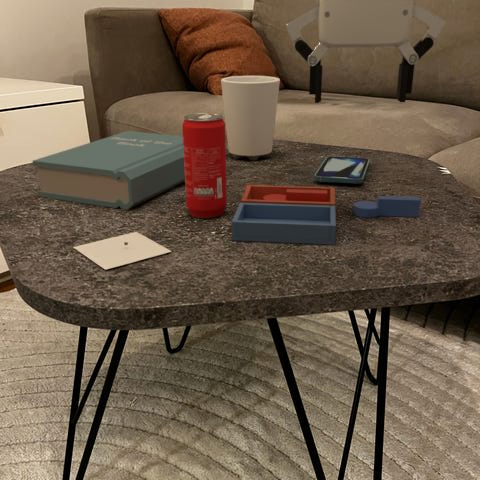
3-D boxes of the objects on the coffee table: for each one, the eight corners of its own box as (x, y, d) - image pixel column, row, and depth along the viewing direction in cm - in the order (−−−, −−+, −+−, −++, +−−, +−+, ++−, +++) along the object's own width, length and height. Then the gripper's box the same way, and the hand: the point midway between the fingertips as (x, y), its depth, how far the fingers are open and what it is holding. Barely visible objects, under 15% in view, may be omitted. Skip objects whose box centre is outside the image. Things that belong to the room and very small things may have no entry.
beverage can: (180, 216, 75) (174, 118, 70) (197, 205, 80) (193, 112, 74) (217, 221, 74) (214, 121, 68) (232, 209, 78) (231, 114, 72)
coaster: (72, 247, 66) (71, 240, 66) (136, 231, 70) (135, 225, 70) (105, 269, 60) (104, 262, 60) (171, 251, 65) (171, 244, 64)
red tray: (333, 204, 80) (334, 187, 79) (333, 221, 73) (335, 203, 72) (247, 201, 81) (247, 184, 80) (240, 218, 75) (240, 200, 74)
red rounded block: (326, 204, 78) (327, 188, 77) (326, 212, 75) (327, 195, 74) (264, 202, 79) (264, 186, 78) (261, 210, 76) (262, 193, 75)
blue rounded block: (416, 211, 77) (418, 194, 76) (419, 219, 74) (422, 202, 73) (352, 209, 78) (353, 192, 77) (353, 217, 75) (354, 200, 74)
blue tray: (334, 223, 73) (335, 205, 72) (334, 245, 66) (336, 225, 65) (239, 220, 74) (239, 202, 73) (231, 240, 68) (231, 221, 67)
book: (129, 161, 102) (127, 131, 99) (212, 170, 96) (211, 138, 93) (38, 196, 84) (32, 160, 81) (133, 210, 78) (129, 172, 75)
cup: (267, 164, 99) (269, 83, 93) (213, 160, 102) (211, 81, 96) (285, 152, 107) (287, 76, 101) (234, 148, 110) (233, 74, 104)
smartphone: (370, 158, 99) (363, 179, 86) (370, 164, 99) (362, 186, 86) (326, 155, 101) (312, 176, 88) (326, 161, 101) (312, 182, 88)
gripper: (449, -72, 64) (429, 95, 72) (289, -65, 66) (287, 97, 74) (463, -81, 57) (439, 105, 65) (285, -73, 59) (283, 106, 68)
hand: (358, 100), depth 70 cm, fingers open, 9 cm apart
